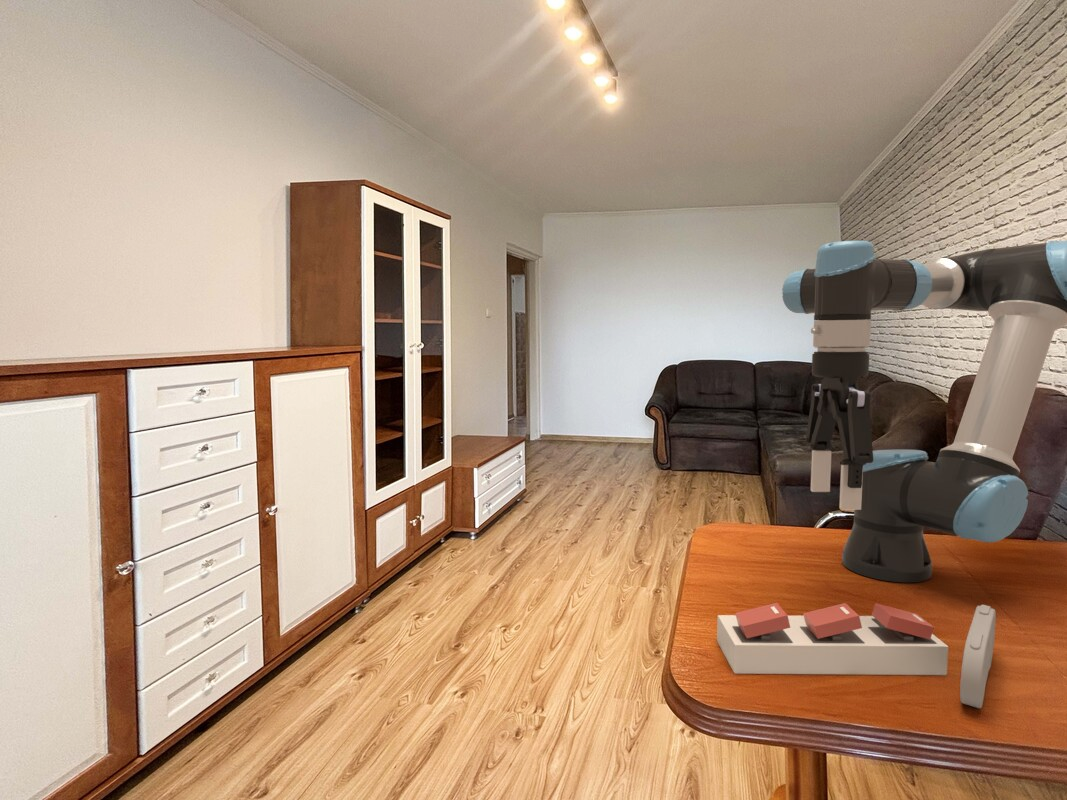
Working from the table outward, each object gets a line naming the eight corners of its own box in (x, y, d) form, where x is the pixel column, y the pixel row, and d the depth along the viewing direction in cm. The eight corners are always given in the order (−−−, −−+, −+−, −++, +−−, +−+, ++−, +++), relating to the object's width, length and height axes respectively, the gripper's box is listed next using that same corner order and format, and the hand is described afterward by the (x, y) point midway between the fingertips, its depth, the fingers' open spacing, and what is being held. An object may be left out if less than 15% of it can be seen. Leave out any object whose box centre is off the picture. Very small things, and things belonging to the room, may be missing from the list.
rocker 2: (848, 614, 88) (845, 602, 88) (862, 628, 84) (859, 614, 84) (806, 625, 88) (802, 612, 88) (817, 638, 84) (814, 625, 84)
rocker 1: (779, 614, 88) (776, 601, 88) (790, 627, 84) (787, 614, 84) (738, 624, 89) (734, 612, 88) (746, 638, 85) (743, 625, 84)
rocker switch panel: (908, 642, 92) (910, 611, 92) (946, 675, 83) (948, 641, 83) (716, 640, 93) (717, 610, 93) (734, 673, 84) (735, 640, 84)
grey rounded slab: (973, 650, 90) (977, 595, 89) (993, 655, 88) (997, 599, 88) (956, 713, 75) (960, 647, 74) (979, 721, 74) (984, 654, 73)
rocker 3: (912, 625, 88) (917, 613, 88) (929, 639, 84) (934, 626, 84) (871, 614, 88) (875, 602, 88) (886, 628, 84) (891, 615, 84)
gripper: (786, 348, 103) (782, 482, 105) (849, 352, 81) (842, 521, 83) (833, 348, 102) (827, 482, 105) (909, 351, 81) (900, 521, 83)
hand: (834, 499), depth 94 cm, fingers open, 9 cm apart
